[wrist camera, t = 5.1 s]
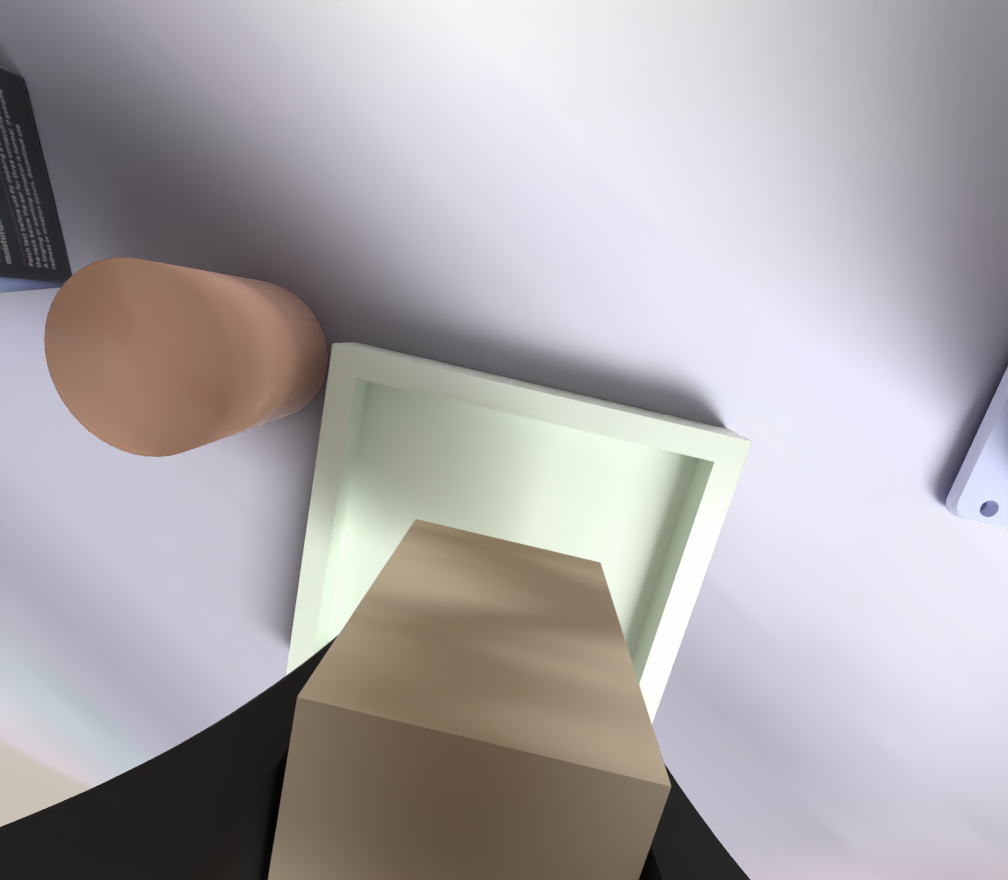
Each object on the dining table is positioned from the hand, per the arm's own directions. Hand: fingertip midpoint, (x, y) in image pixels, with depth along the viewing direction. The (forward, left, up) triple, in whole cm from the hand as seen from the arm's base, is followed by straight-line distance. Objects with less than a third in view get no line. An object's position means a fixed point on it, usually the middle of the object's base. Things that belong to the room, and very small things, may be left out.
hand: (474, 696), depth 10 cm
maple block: (0, -1, -2) cm, 2 cm away
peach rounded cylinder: (+9, -5, -7) cm, 12 cm away
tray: (0, 0, -7) cm, 7 cm away
